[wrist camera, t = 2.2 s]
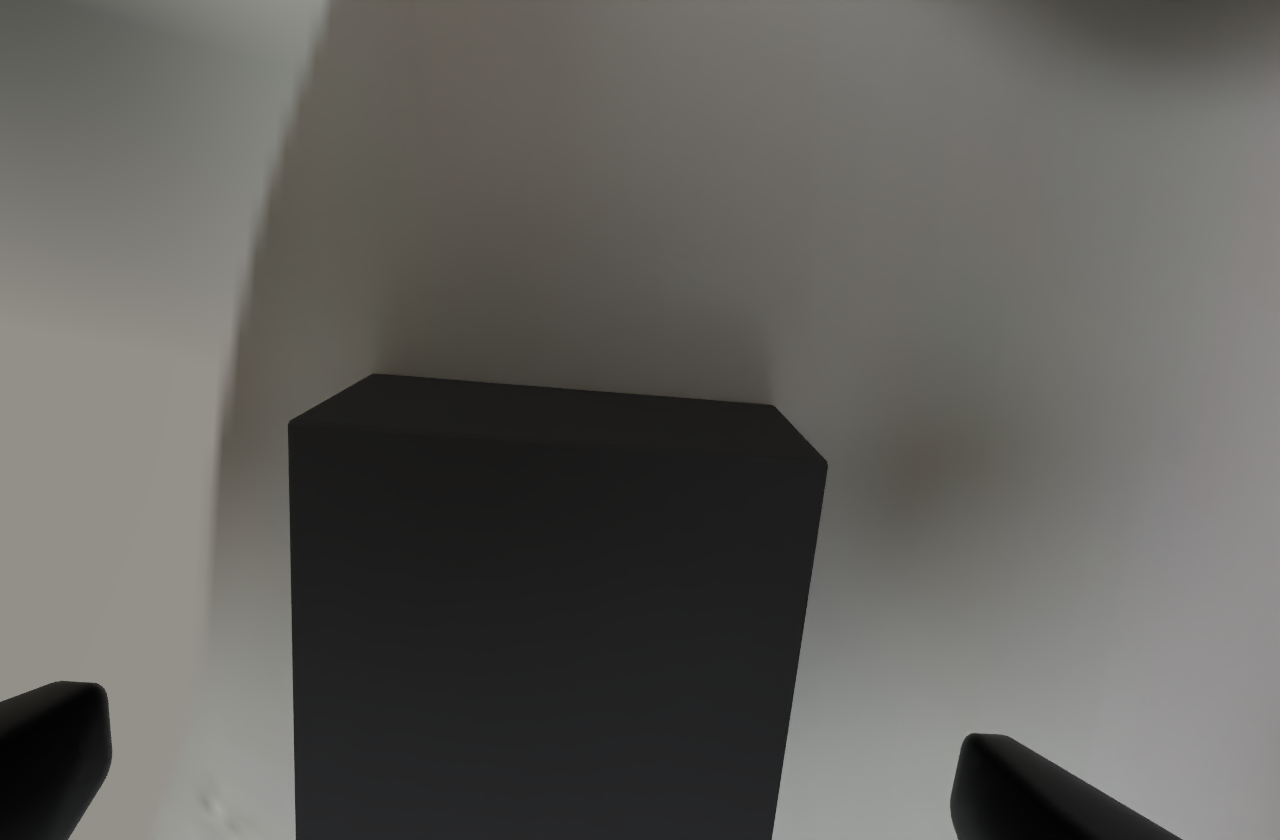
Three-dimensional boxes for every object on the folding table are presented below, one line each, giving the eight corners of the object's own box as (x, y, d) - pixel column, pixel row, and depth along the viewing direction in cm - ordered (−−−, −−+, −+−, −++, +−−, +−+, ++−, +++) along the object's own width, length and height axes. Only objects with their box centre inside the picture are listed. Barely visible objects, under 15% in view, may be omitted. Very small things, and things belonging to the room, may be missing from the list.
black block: (775, 404, 11) (830, 461, 9) (729, 751, 13) (764, 901, 10) (371, 372, 11) (284, 420, 8) (368, 731, 13) (294, 881, 10)
